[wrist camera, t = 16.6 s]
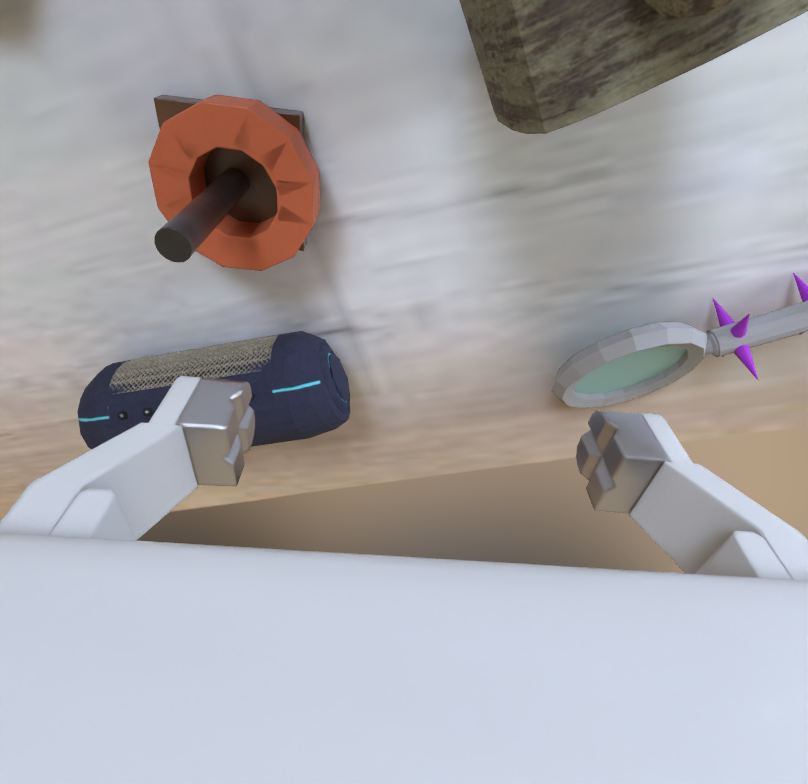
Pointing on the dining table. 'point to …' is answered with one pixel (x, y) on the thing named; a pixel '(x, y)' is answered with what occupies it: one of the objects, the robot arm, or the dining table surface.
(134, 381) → the portable speaker
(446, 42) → the dining table surface
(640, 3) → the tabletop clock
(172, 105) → the stand
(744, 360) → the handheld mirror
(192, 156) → the ring
